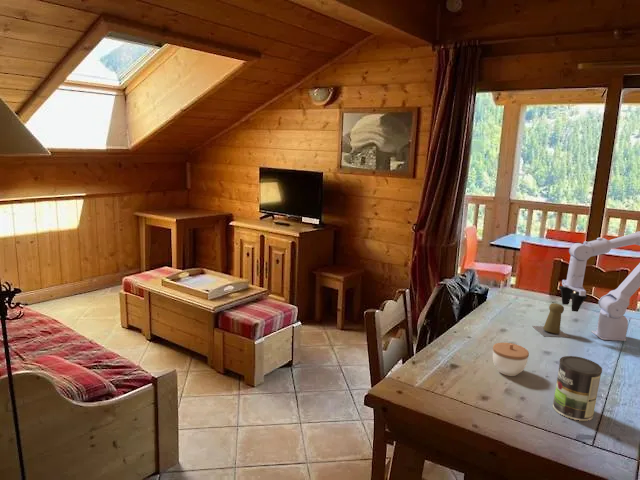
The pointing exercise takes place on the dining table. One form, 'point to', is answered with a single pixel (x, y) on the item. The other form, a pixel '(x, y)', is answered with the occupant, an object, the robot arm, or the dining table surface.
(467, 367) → the dining table surface
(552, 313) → the cork
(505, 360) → the lidded jar
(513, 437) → the dining table surface
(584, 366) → the coffee can
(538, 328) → the slate coaster
